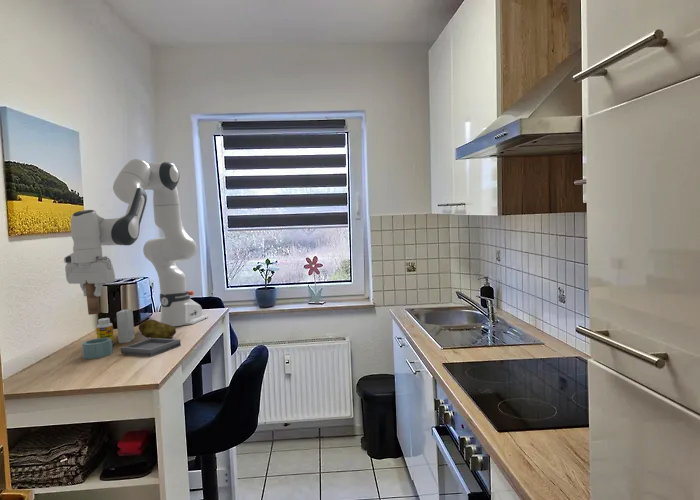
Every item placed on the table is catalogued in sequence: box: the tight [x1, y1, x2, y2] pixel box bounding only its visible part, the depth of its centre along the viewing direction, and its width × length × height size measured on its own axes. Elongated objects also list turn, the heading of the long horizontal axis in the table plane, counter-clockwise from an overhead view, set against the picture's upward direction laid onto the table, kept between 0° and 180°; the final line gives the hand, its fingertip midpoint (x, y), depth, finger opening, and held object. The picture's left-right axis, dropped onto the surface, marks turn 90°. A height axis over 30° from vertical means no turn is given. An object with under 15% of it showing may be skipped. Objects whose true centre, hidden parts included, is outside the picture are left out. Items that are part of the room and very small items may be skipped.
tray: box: [120, 338, 182, 357], centre depth 177 cm, size 14×14×2 cm
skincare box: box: [116, 308, 135, 344], centre depth 192 cm, size 6×4×12 cm
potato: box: [138, 319, 177, 339], centre depth 193 cm, size 8×13×8 cm, turn 95°
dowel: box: [85, 280, 101, 316], centre depth 172 cm, size 4×4×12 cm
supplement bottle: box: [95, 317, 115, 346], centre depth 187 cm, size 6×6×10 cm
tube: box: [81, 338, 114, 360], centre depth 174 cm, size 9×9×5 cm
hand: (92, 296), depth 172 cm, fingers closed on dowel, 4 cm apart
